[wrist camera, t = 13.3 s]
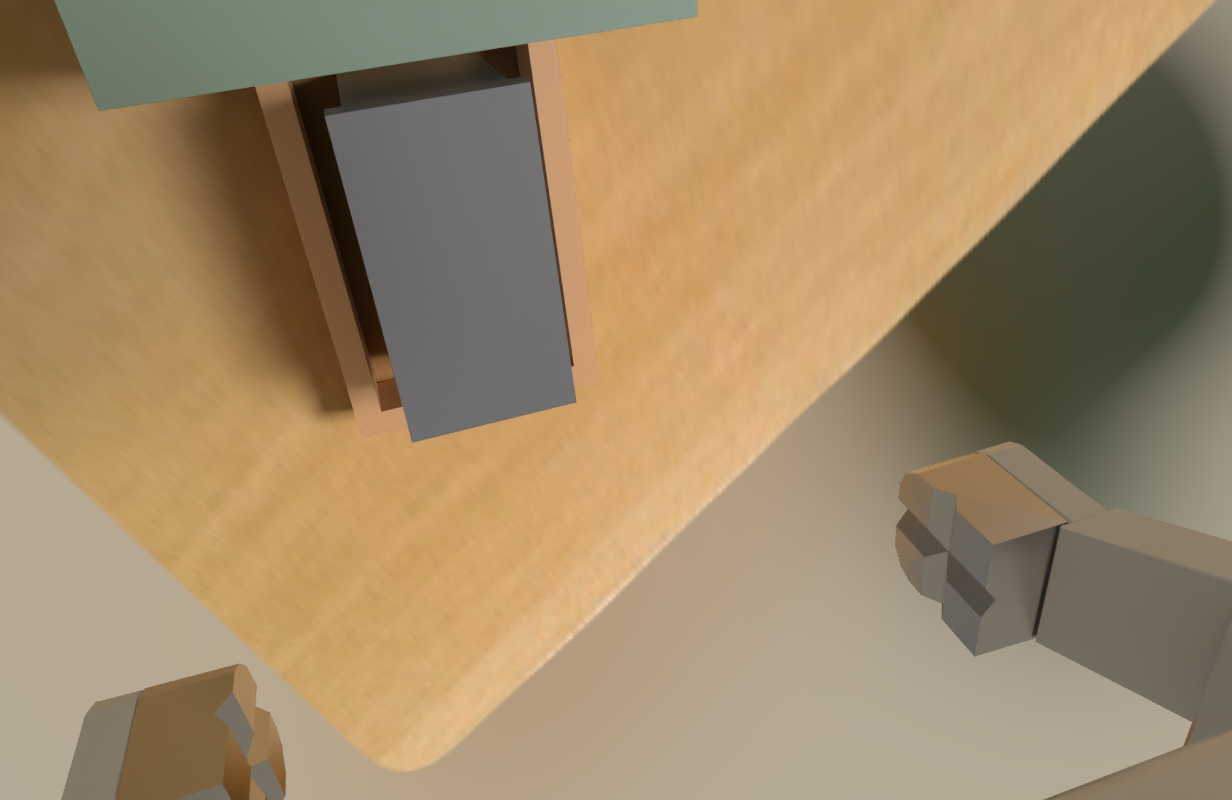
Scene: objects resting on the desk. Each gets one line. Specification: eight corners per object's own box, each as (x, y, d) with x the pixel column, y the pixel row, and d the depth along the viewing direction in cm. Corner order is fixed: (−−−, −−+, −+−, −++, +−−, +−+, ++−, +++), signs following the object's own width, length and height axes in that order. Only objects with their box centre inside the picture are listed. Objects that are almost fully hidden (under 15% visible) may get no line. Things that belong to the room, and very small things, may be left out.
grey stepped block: (488, 47, 26) (529, 81, 21) (533, 322, 30) (576, 402, 25) (321, 73, 25) (324, 116, 20) (395, 353, 29) (412, 442, 24)
